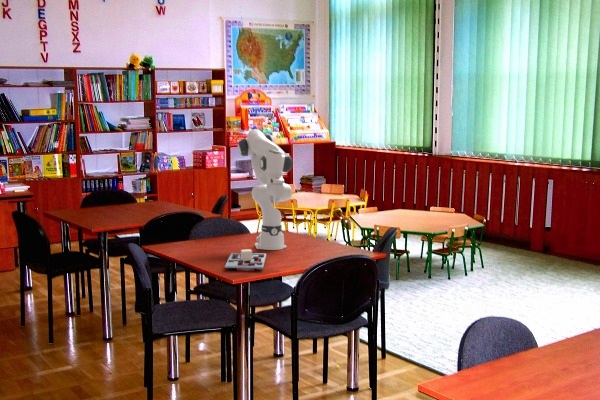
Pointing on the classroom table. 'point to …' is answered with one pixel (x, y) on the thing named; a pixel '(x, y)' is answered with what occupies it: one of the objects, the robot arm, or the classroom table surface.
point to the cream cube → (246, 255)
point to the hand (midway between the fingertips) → (274, 204)
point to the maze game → (246, 262)
